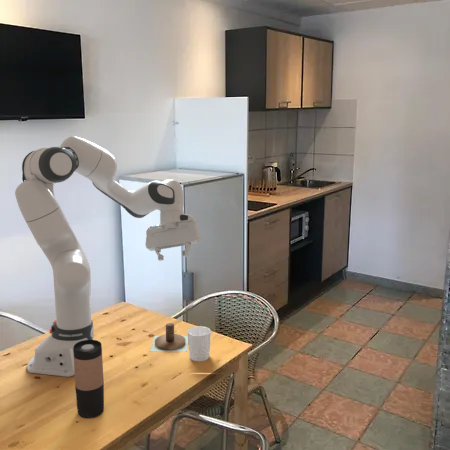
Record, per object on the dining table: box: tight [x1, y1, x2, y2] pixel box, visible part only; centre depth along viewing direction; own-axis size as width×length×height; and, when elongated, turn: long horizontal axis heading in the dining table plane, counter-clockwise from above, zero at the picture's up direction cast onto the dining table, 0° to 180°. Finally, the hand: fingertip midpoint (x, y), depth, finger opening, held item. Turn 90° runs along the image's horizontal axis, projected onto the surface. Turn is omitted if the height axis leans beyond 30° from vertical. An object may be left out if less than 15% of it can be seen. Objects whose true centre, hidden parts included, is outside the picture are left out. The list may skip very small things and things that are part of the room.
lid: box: [155, 322, 185, 350], centre depth 181 cm, size 11×11×7 cm
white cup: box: [187, 325, 212, 362], centre depth 171 cm, size 8×8×10 cm
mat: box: [149, 335, 189, 353], centre depth 181 cm, size 13×13×1 cm
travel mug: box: [73, 339, 105, 420], centre depth 138 cm, size 8×8×20 cm
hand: (172, 258), depth 178 cm, fingers open, 8 cm apart
